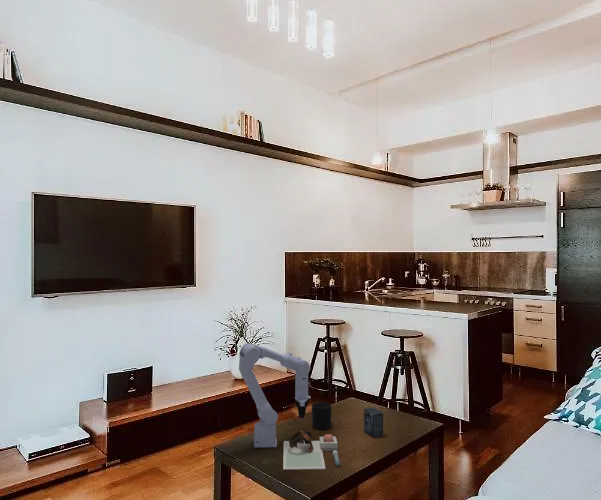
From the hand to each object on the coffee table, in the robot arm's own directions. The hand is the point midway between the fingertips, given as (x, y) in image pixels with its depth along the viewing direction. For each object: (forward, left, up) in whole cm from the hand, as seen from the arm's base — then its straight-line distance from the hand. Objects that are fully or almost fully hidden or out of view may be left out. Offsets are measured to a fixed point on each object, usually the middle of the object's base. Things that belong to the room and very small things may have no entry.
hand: (301, 417), depth 199 cm
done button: (+11, -10, -8) cm, 17 cm away
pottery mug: (0, -12, -9) cm, 15 cm away
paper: (0, -17, -9) cm, 19 cm away
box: (+33, +4, -9) cm, 35 cm away
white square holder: (+11, -10, -9) cm, 17 cm away
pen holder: (+10, +14, -9) cm, 20 cm away
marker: (+13, -23, -9) cm, 28 cm away
